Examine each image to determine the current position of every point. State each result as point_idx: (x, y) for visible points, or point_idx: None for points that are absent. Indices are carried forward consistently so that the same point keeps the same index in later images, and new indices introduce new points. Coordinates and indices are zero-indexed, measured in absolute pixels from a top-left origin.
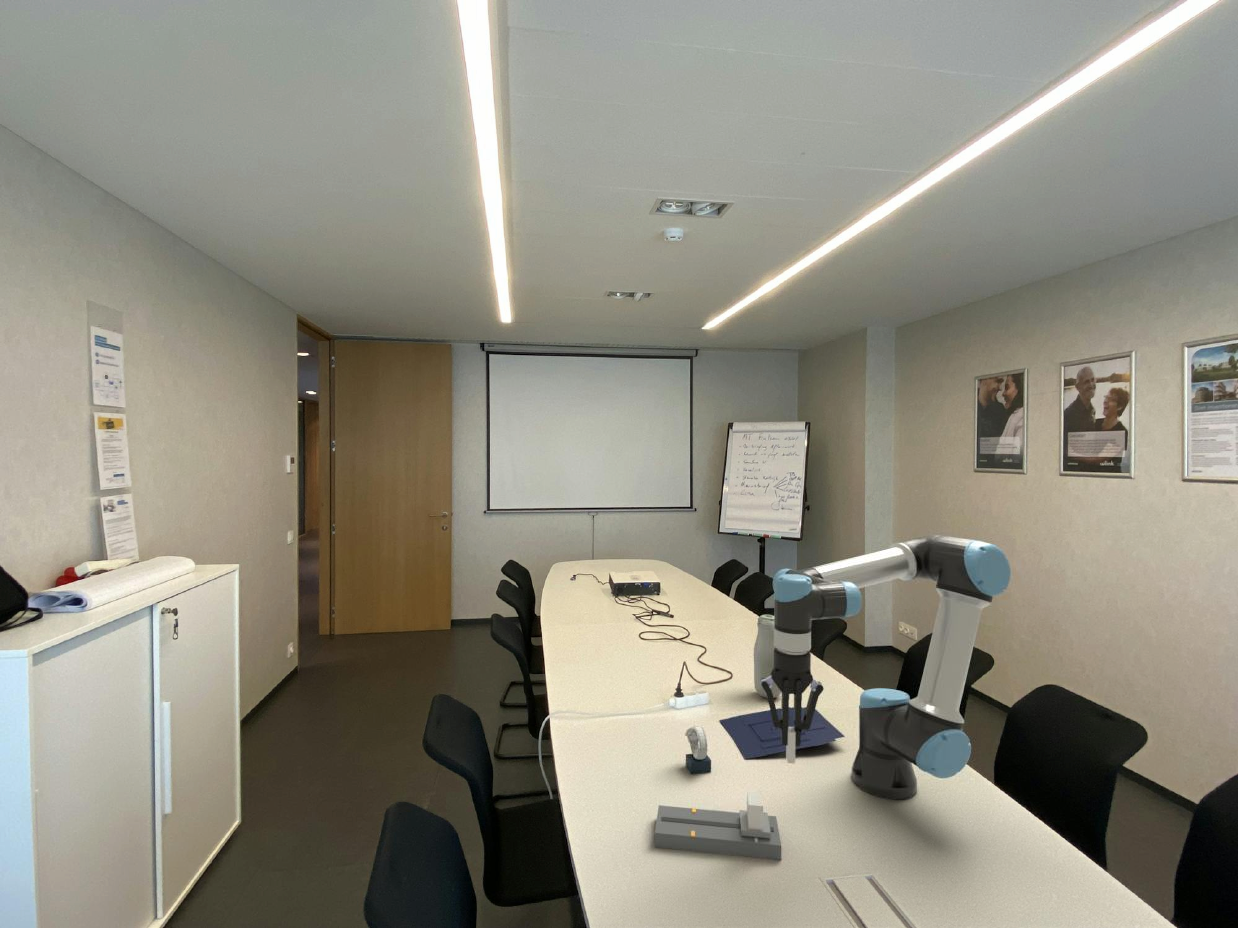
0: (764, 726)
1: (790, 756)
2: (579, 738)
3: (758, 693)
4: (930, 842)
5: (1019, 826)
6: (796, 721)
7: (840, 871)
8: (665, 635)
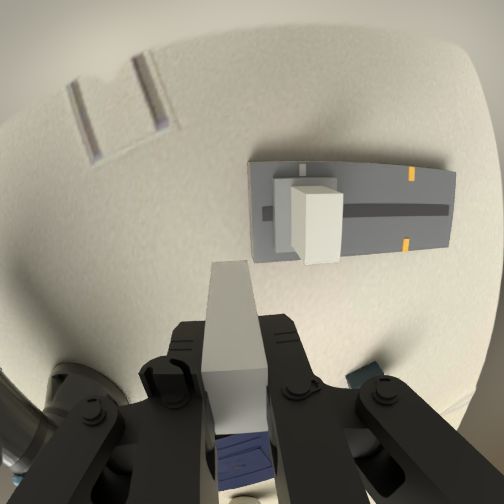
0: (253, 466)
1: (235, 273)
2: (471, 371)
3: (255, 498)
4: (23, 273)
5: None
6: (186, 461)
7: (140, 156)
8: None
